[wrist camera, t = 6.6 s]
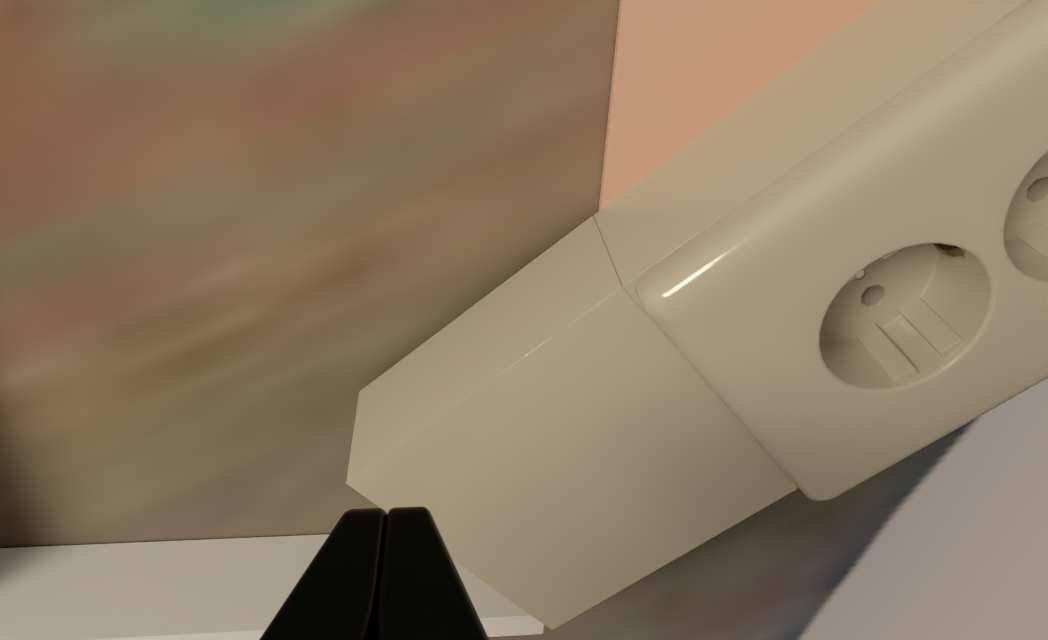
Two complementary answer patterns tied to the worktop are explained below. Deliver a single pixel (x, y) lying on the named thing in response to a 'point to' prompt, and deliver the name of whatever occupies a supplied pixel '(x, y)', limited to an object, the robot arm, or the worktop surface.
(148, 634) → the white rectangular open frame
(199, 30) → the worktop surface
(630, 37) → the terracotta mat
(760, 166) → the electrical outlet
